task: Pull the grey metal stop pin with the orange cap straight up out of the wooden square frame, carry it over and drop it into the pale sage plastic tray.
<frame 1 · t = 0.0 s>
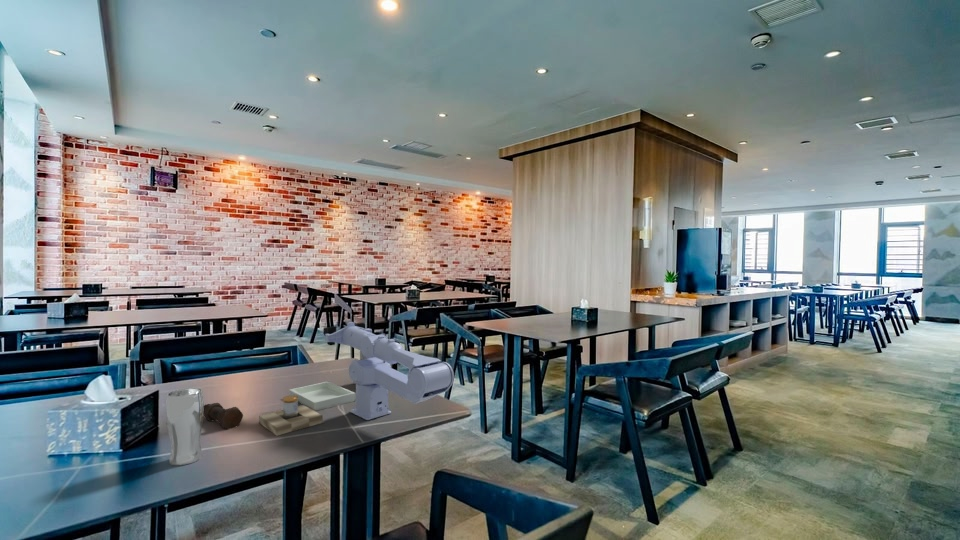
hand: (336, 329, 139), 22 cm above the table, tool horizontal, fingers open, 7 cm apart
wooden square frame: (290, 422, 118), on the table
dark brown dumbbell: (219, 422, 120), on the table
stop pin: (290, 410, 118), in the wooden square frame
beer glass: (186, 460, 97), on the table
coffee box: (372, 384, 155), on the table
parts tray: (321, 399, 138), on the table
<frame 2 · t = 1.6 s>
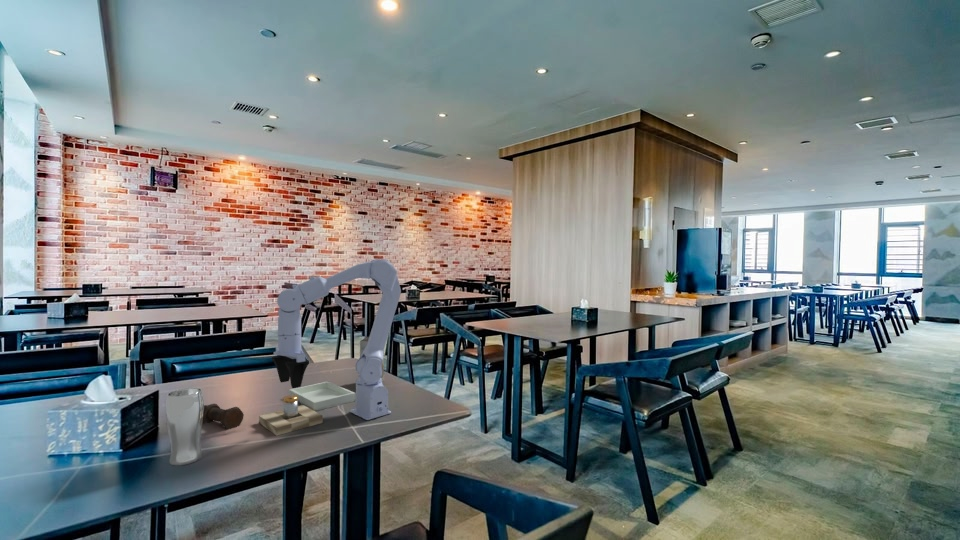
hand: (290, 384, 118), 10 cm above the table, tool pointing down, fingers open, 7 cm apart
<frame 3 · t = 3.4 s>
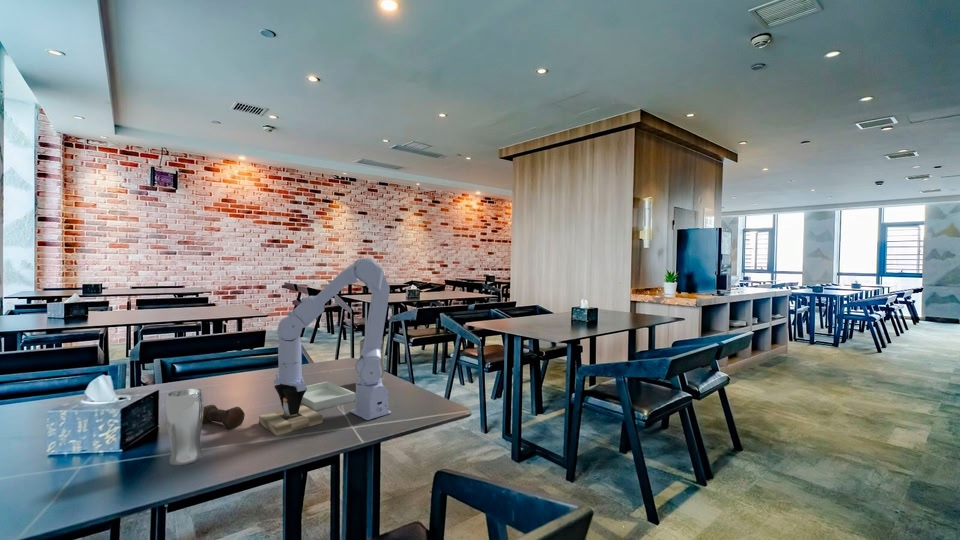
hand: (290, 412, 118), 3 cm above the table, tool pointing down, fingers closed on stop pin, 4 cm apart
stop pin: (290, 410, 118), in the wooden square frame, touching gripper
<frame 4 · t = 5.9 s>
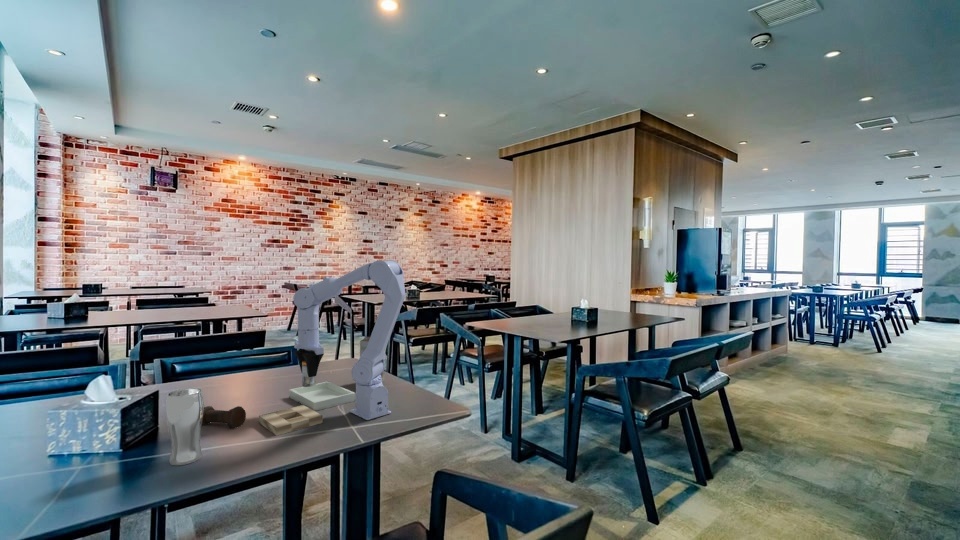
hand: (309, 375, 129), 10 cm above the table, tool pointing down, fingers closed on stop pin, 4 cm apart
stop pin: (308, 373, 129), point 10 cm above the table, touching gripper
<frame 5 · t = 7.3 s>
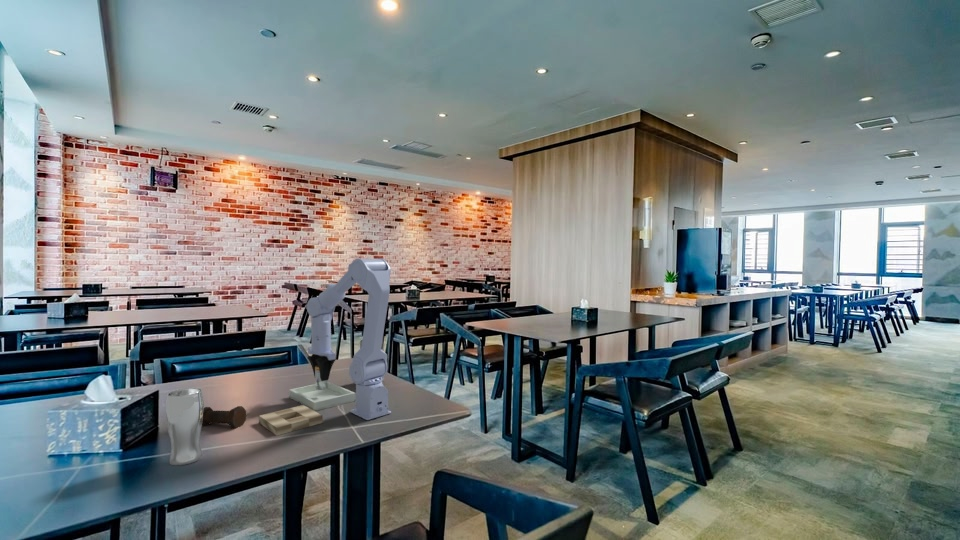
hand: (321, 379, 138), 6 cm above the table, tool pointing down, fingers closed on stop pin, 4 cm apart
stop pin: (321, 377, 138), point 7 cm above the table, touching gripper
when the fingers open (5 cm above the table, at t = 8.3 s): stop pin drops 1 cm, resting on parts tray.
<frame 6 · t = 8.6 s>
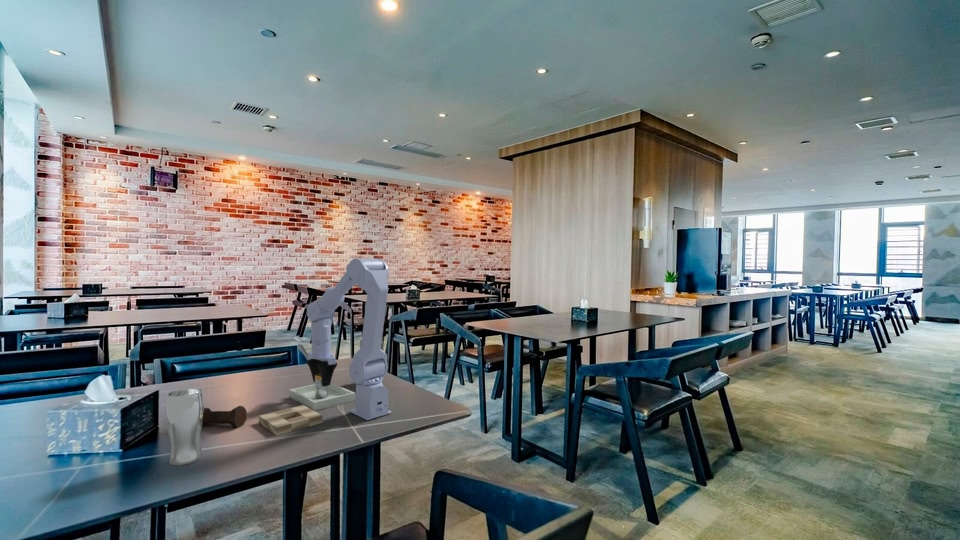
hand: (321, 383, 138), 5 cm above the table, tool pointing down, fingers open, 6 cm apart
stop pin: (321, 386, 138), in the parts tray, point 4 cm above the table
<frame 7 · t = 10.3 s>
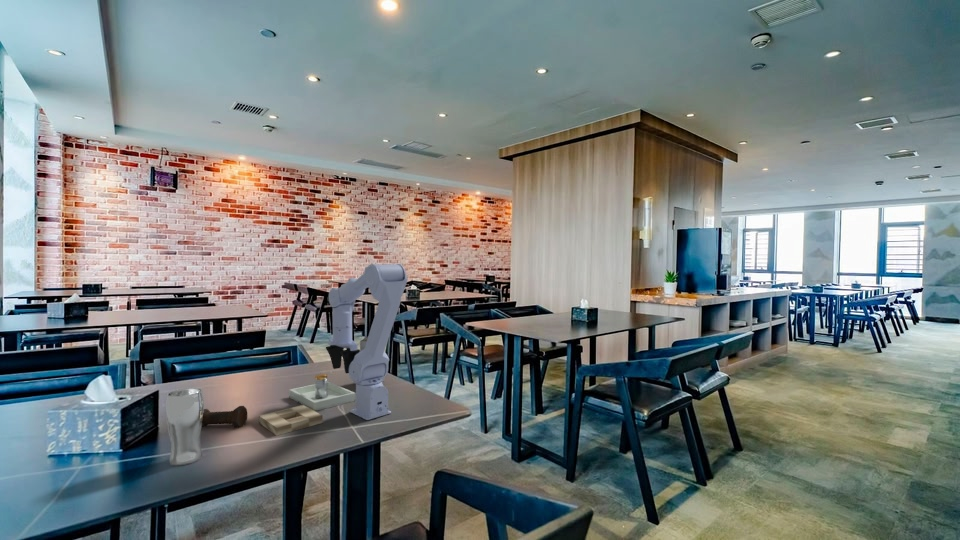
hand: (342, 370, 137), 9 cm above the table, tool pointing down, fingers open, 7 cm apart
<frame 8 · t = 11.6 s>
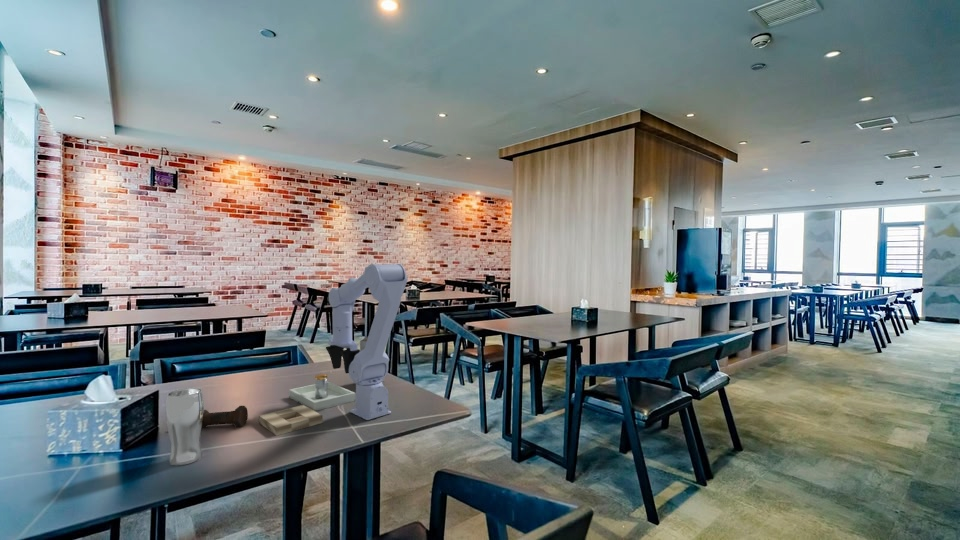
hand: (342, 370, 137), 9 cm above the table, tool pointing down, fingers open, 7 cm apart
at the end: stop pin inside the target area on the parts tray (0.1 cm from its centre), point 4.1 cm above the parts tray's base; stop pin moved 19.8 cm from its start; the gripper is holding nothing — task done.
